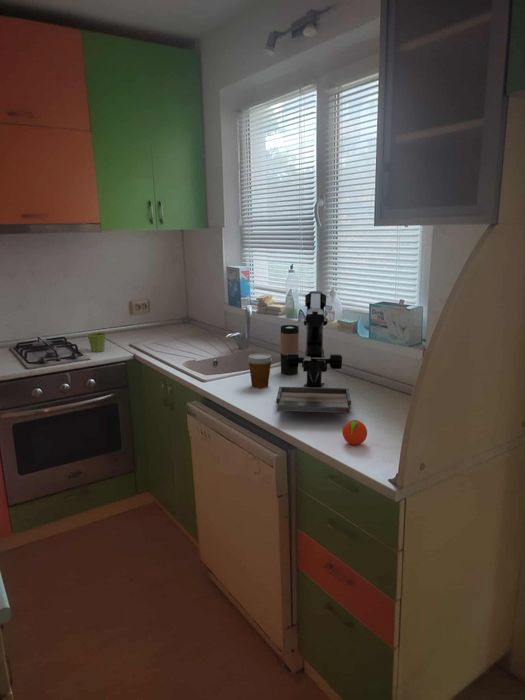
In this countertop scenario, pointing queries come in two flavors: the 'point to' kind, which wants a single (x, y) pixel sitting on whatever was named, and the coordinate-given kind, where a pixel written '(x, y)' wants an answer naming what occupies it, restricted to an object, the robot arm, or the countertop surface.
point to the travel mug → (289, 347)
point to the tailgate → (313, 406)
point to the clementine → (354, 432)
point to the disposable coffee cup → (259, 369)
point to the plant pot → (97, 341)
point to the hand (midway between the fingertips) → (313, 383)
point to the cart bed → (313, 394)
